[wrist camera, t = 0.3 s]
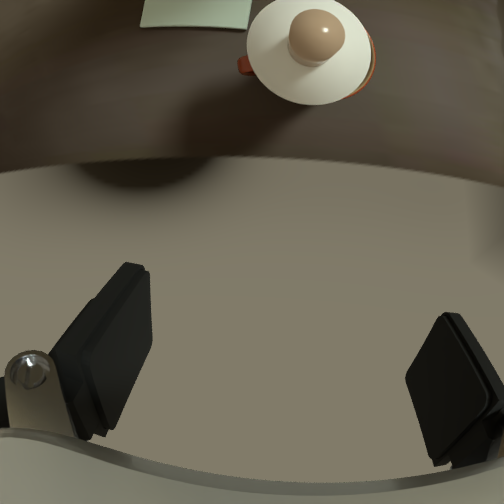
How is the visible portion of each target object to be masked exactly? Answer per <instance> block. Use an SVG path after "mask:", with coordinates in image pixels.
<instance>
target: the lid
mask: <svg viewBox="0 0 504 504" xmlns="http://www.w3.org/2000/svg"><path fill="white" fill-rule="evenodd" d="M247 53H248V58H249V61H250V64H251V67H252V68H253V70H254V72H255V74H256V75H257V77H258V78H259V80H260V81H261V82H262V83H263V84H264V85H265V86H266V87H267V88H268V89H269V90H270V91H272V92H273V93H275V94H276V95H278V96H280V97H281V98H283V99H286V100H288V101H291V102H294V103H298V104H305V105H321V104H327V103H332V102H335V101H338V100H340V99H342V98H344V97H346V96H348V95H349V94H350V93H352V92H353V91H354V90H355V89H356V88H357V87H358V86H359V85H360V84H361V83H362V81H363V80H364V78H365V76H366V74H367V72H368V69H369V65H370V61H371V48H370V42H369V39H368V36H367V33H366V31H365V29H364V27H363V26H362V24H361V23H360V21H359V20H358V19H357V18H356V16H355V15H354V14H353V13H352V12H350V11H349V10H348V9H347V8H345V7H344V6H343V5H341V4H339V3H337V2H336V1H334V0H276V1H274V2H272V3H270V4H269V5H267V6H266V7H265V8H264V9H263V10H262V11H260V13H259V14H258V15H257V16H256V17H255V19H254V21H253V22H252V24H251V27H250V29H249V33H248V37H247Z"/></svg>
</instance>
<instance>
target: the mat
mask: <svg viewBox="0 0 504 504" xmlns="http://www.w3.org/2000/svg"><path fill="white" fill-rule="evenodd" d="M251 4H252V0H145V4H144V8H143V13H142V18H141V23H140V27H141V28H146V27H216V28H231V29H243V30H247V26H248V20H249V15H250V9H251Z"/></svg>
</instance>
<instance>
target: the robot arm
mask: <svg viewBox="0 0 504 504" xmlns="http://www.w3.org/2000/svg"><path fill="white" fill-rule="evenodd" d="M151 345H152V321H151V301H150V273H149V272H148V271H145V268H144V266H143V265H139V264H134V263H129V262H125V263H124V264H123V265H122V266H121V267H120V268H119V269H118V270H117V272H116V273H115V274H114V275H113V277H112V278H111V279H110V280H109V281H108V282H107V284H106V285H105V286H104V287H103V288H102V290H101V291H100V292H99V293H98V294H97V296H96V297H95V298H93V299H91V300H90V301H89V302H88V303H87V305H86V306H85V307H84V308H83V310H82V311H81V312H80V313H79V315H78V316H77V317H76V318H75V320H74V321H73V322H72V323H71V325H70V326H69V327H68V329H67V330H66V331H65V333H64V334H63V335H62V336H61V338H60V339H59V341H58V342H57V343H56V344H55V346H54V347H53V348H52V350H51V351H50V352H49V354H48V355H47V354H46V353H44V352H42V351H36V350H31V351H25V352H22V353H19V354H18V355H16V356H14V357H13V358H12V359H11V360H10V361H9V362H8V364H7V366H6V369H5V375H4V377H1V378H0V504H504V385H503V383H502V381H501V380H500V378H499V376H498V374H497V372H496V371H495V369H494V367H493V366H492V364H491V362H490V360H489V359H488V357H487V356H486V354H485V352H484V351H483V349H482V347H481V346H480V344H479V342H478V341H477V339H476V338H475V336H474V335H473V333H472V332H471V330H470V328H469V327H468V325H467V324H466V322H465V321H464V319H463V318H462V317H461V315H460V314H458V313H450V312H445V313H443V314H442V315H441V316H439V317H438V318H437V320H436V322H435V323H434V325H433V327H432V329H431V331H430V333H429V335H428V336H427V338H426V340H425V342H424V344H423V345H422V347H421V349H420V351H419V352H418V354H417V356H416V358H415V359H414V361H413V363H412V364H411V366H410V367H409V369H408V371H407V373H406V377H405V380H406V384H407V387H408V390H409V393H410V396H411V399H412V402H413V405H414V408H415V411H416V415H417V418H418V421H419V424H420V428H421V431H422V434H423V438H424V441H425V445H426V448H427V452H428V455H429V457H430V458H431V459H432V461H433V464H434V467H436V466H441V465H446V464H447V463H449V462H450V461H451V463H452V466H451V467H450V470H448V471H443V472H437V473H432V474H426V475H420V476H413V477H405V478H397V479H388V480H378V481H365V482H346V483H345V482H343V483H305V482H304V483H303V482H283V481H268V480H258V479H249V478H240V477H233V476H226V475H219V474H213V473H207V472H202V471H197V470H192V469H187V468H181V467H177V466H173V465H168V464H163V463H160V462H155V461H152V460H148V459H144V458H140V457H136V456H133V455H130V454H126V453H123V452H120V451H117V450H113V449H110V448H107V447H103V446H100V445H96V444H93V443H90V442H88V440H90V439H91V438H92V436H93V434H97V435H100V436H102V437H106V434H107V432H108V430H109V429H110V430H113V429H114V428H115V427H116V424H117V422H118V420H119V418H120V415H121V413H122V411H123V408H124V406H125V404H126V402H127V399H128V397H129V395H130V393H131V390H132V388H133V386H134V384H135V381H136V379H137V377H138V375H139V372H140V370H141V368H142V366H143V364H144V361H145V359H146V357H147V355H148V353H149V351H150V348H151Z"/></svg>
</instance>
